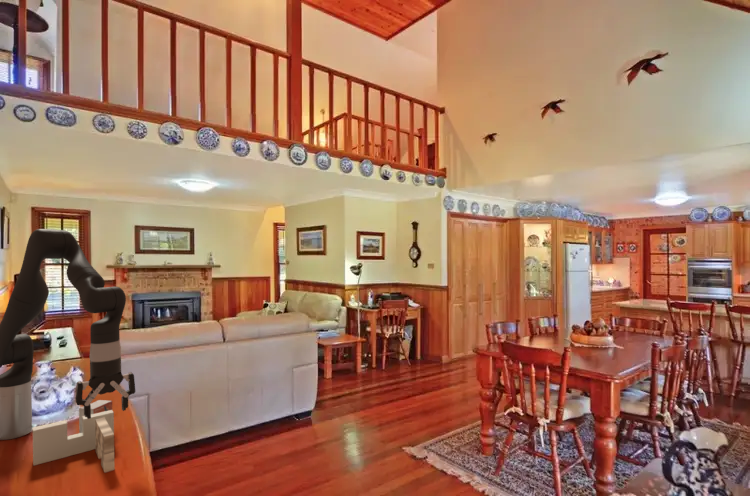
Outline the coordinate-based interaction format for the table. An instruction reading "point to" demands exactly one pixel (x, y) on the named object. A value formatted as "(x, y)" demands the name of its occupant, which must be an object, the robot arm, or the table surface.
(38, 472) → the table surface
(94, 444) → the notched board
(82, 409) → the small box
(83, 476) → the table surface
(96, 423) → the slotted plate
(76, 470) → the table surface
